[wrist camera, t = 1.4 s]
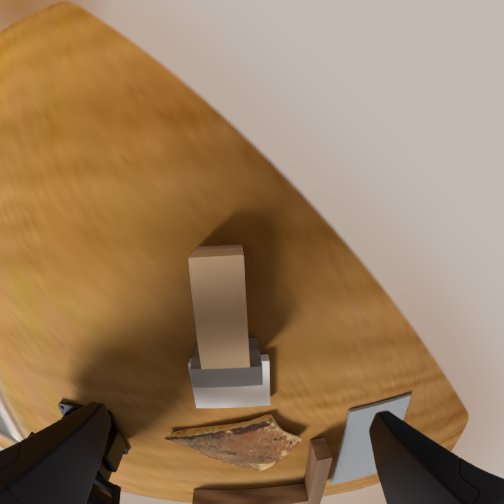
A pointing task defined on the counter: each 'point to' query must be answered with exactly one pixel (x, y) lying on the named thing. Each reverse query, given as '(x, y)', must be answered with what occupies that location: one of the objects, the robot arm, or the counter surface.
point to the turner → (224, 333)
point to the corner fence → (282, 497)
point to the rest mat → (362, 439)
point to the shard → (240, 442)
